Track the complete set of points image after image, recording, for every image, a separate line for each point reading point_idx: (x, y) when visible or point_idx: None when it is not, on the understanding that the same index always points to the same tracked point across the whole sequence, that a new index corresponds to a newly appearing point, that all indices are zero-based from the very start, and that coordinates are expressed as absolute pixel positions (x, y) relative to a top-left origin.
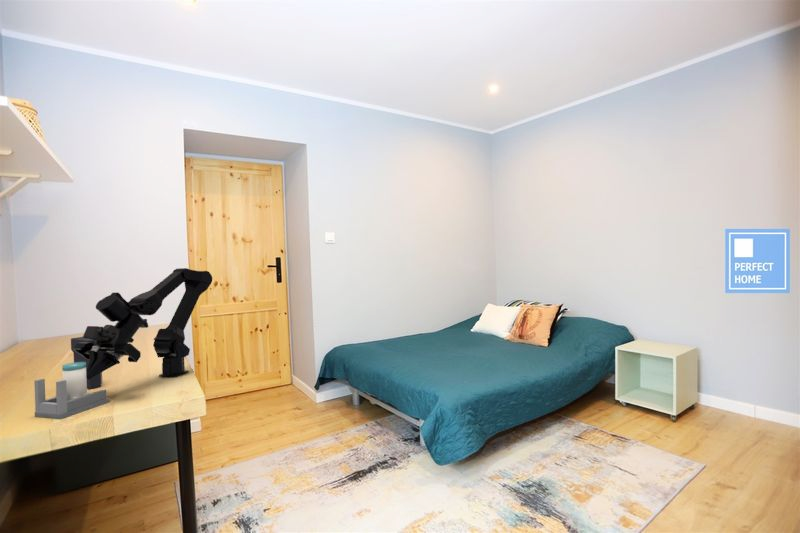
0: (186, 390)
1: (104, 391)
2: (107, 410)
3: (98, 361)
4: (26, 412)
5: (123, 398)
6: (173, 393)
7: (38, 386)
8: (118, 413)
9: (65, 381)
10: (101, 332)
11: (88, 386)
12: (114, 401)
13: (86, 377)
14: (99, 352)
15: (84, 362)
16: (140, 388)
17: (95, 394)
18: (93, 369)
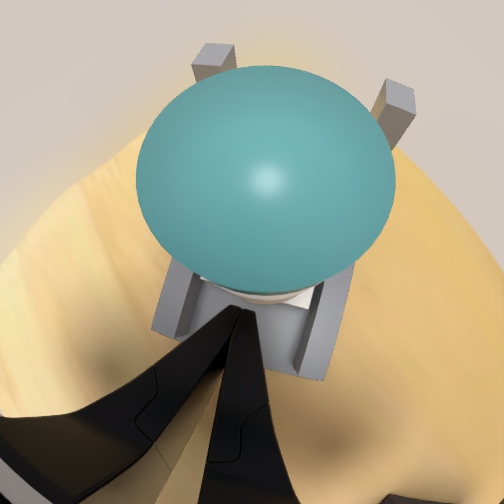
0: (6, 395)
1: (154, 319)
2: (112, 225)
3: (121, 405)
4: (430, 235)
5: (136, 373)
6: (17, 376)
7: (375, 102)
8: (71, 196)
9: (194, 66)
10: None
11: (401, 500)
12: (148, 337)
13: (230, 305)
14: (47, 468)
15: (172, 229)
16: (163, 490)
17: (170, 272)
18: (176, 346)
